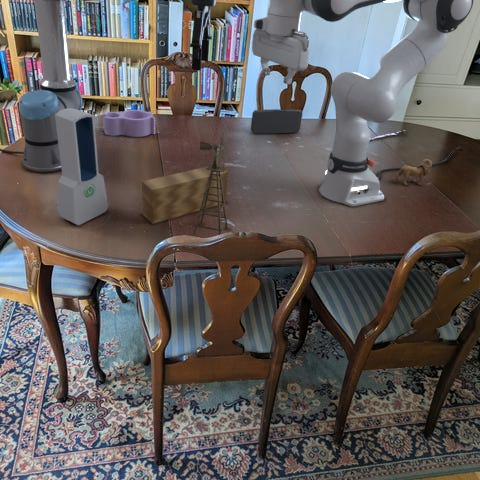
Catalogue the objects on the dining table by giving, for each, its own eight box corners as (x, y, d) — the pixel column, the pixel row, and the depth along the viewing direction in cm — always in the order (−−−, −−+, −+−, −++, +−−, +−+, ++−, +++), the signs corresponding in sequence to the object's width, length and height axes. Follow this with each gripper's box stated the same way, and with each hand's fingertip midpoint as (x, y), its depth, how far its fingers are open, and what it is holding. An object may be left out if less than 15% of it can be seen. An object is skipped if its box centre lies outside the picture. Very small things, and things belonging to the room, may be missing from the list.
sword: (403, 130, 224) (403, 128, 224) (408, 133, 222) (409, 130, 222) (360, 142, 209) (360, 139, 208) (365, 144, 207) (365, 142, 206)
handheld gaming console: (297, 130, 211) (300, 108, 206) (299, 132, 209) (303, 110, 204) (249, 131, 204) (252, 109, 199) (252, 134, 202) (254, 111, 197)
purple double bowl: (105, 137, 184) (104, 120, 180) (103, 126, 193) (101, 110, 190) (156, 136, 190) (156, 119, 186) (151, 125, 200) (151, 109, 196)
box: (152, 224, 133) (152, 189, 128) (142, 214, 137) (141, 181, 131) (225, 203, 148) (228, 171, 142) (214, 195, 152) (216, 164, 146)
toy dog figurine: (420, 178, 179) (427, 156, 174) (429, 184, 174) (437, 162, 170) (388, 181, 174) (395, 158, 169) (397, 187, 170) (404, 164, 165)
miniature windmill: (221, 244, 128) (229, 139, 111) (191, 238, 129) (195, 134, 112) (228, 227, 135) (237, 127, 119) (200, 222, 136) (205, 122, 120)
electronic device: (75, 227, 128) (63, 121, 112) (57, 218, 131) (42, 113, 115) (109, 210, 137) (102, 110, 121) (90, 202, 140) (81, 103, 124)
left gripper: (209, -5, 127) (205, 75, 138) (222, -12, 147) (217, 58, 159) (182, -8, 127) (180, 72, 138) (198, -15, 148) (196, 55, 159)
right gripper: (318, 33, 120) (309, 87, 127) (267, 19, 133) (262, 69, 140) (300, 34, 116) (292, 90, 124) (250, 20, 129) (246, 71, 137)
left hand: (200, 65), depth 149 cm, fingers open, 13 cm apart
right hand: (276, 79), depth 132 cm, fingers open, 8 cm apart
